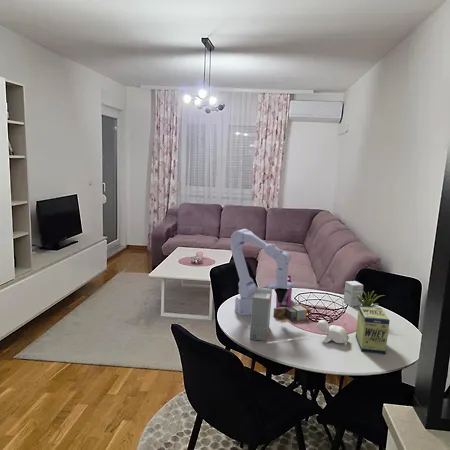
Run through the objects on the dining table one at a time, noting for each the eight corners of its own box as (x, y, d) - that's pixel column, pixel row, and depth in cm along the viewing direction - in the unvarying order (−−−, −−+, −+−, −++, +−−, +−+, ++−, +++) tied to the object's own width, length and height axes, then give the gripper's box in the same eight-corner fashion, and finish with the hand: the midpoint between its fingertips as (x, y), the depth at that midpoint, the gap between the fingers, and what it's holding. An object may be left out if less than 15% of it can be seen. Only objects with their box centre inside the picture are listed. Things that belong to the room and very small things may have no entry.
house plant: (378, 316, 220) (381, 287, 217) (385, 327, 206) (389, 296, 204) (351, 314, 221) (354, 285, 218) (356, 324, 208) (359, 293, 205)
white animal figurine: (344, 345, 191) (315, 327, 196) (352, 330, 188) (323, 313, 193) (341, 353, 183) (311, 334, 188) (350, 338, 181) (319, 319, 185)
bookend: (290, 320, 207) (291, 312, 206) (284, 316, 212) (285, 307, 212) (296, 320, 208) (296, 311, 207) (289, 315, 214) (290, 307, 213)
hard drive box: (266, 342, 184) (269, 299, 180) (249, 339, 185) (251, 297, 182) (269, 327, 199) (272, 288, 195) (253, 325, 200) (256, 286, 197)
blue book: (300, 319, 209) (300, 310, 208) (293, 315, 214) (294, 306, 213) (303, 319, 210) (304, 310, 209) (296, 314, 215) (297, 305, 214)
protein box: (361, 351, 179) (365, 318, 176) (354, 336, 194) (358, 305, 191) (386, 354, 178) (390, 320, 175) (377, 338, 193) (381, 307, 190)
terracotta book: (303, 319, 210) (304, 310, 209) (297, 314, 215) (297, 305, 214) (306, 318, 210) (307, 309, 209) (300, 314, 216) (300, 305, 215)
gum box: (290, 313, 219) (292, 288, 217) (275, 311, 220) (277, 287, 218) (289, 297, 242) (291, 275, 240) (275, 296, 243) (277, 274, 241)
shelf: (281, 323, 204) (281, 313, 203) (273, 317, 212) (274, 307, 211) (310, 319, 211) (310, 309, 210) (301, 314, 218) (302, 303, 217)
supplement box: (342, 302, 239) (345, 281, 237) (353, 301, 242) (356, 280, 239) (350, 306, 232) (352, 285, 230) (361, 305, 235) (363, 284, 232)
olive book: (296, 319, 208) (297, 310, 207) (290, 315, 214) (291, 306, 213) (299, 319, 209) (300, 310, 208) (293, 315, 214) (294, 306, 214)
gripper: (273, 279, 197) (271, 306, 199) (298, 277, 203) (296, 303, 205) (266, 275, 203) (264, 301, 206) (291, 273, 209) (289, 298, 211)
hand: (279, 302), depth 206 cm, fingers closed
